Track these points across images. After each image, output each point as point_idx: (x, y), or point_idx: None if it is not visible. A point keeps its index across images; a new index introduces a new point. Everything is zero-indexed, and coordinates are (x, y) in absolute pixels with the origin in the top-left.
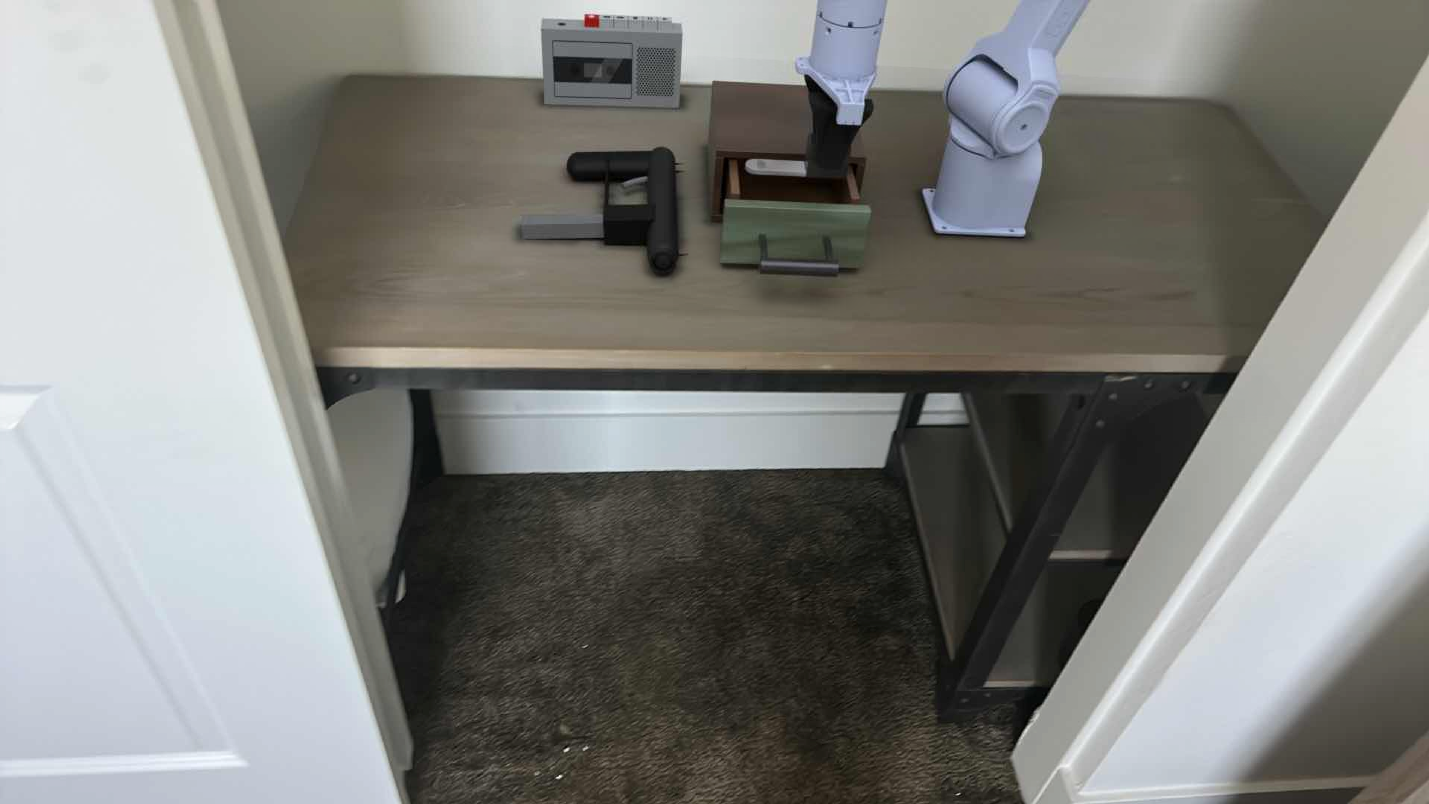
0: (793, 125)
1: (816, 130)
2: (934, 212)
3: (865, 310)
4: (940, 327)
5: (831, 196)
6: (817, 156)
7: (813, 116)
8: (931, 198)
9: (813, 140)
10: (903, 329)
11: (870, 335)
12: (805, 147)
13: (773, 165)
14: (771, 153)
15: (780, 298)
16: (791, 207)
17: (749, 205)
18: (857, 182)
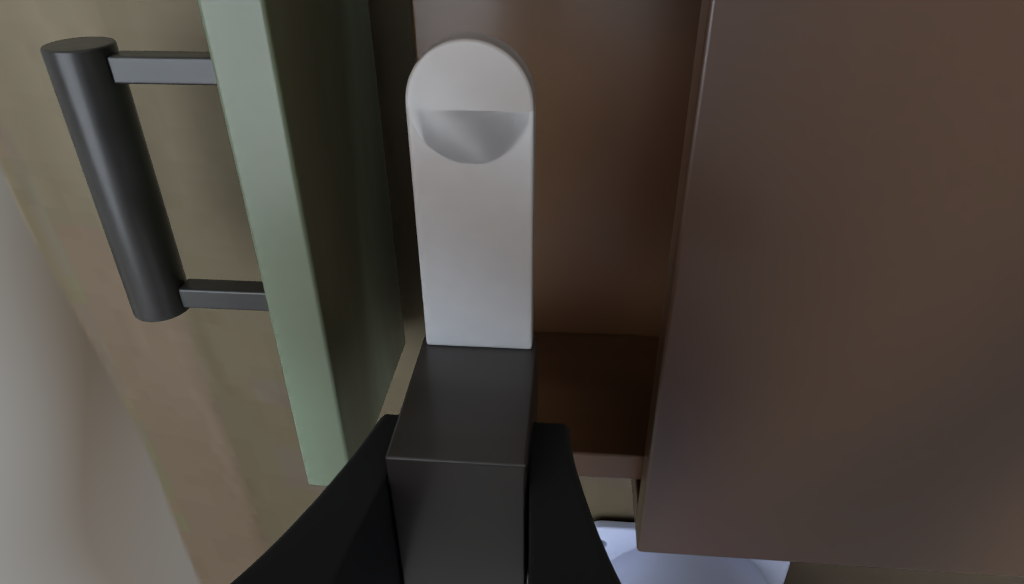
0: (974, 336)
1: (288, 565)
2: None
3: (229, 317)
4: (215, 452)
5: None
6: (360, 449)
7: (530, 565)
8: None
9: (435, 475)
10: (181, 384)
11: (130, 312)
12: (729, 360)
13: (466, 202)
14: (682, 196)
15: (214, 95)
16: (258, 230)
17: (217, 31)
18: None
